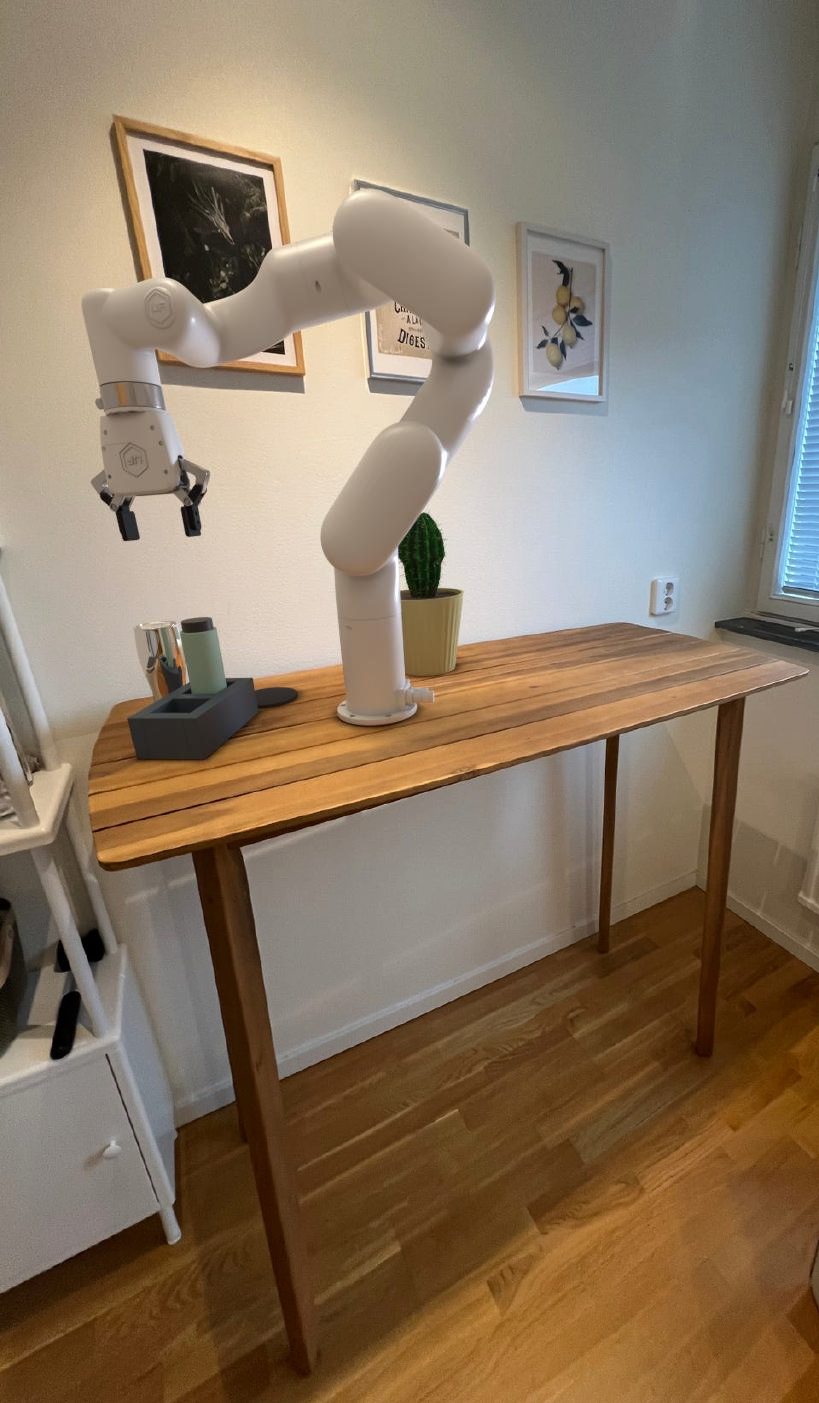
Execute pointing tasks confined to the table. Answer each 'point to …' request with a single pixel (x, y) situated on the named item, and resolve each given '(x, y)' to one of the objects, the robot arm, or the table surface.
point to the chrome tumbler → (161, 656)
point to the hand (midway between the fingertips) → (162, 538)
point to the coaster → (274, 696)
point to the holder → (192, 721)
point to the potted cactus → (427, 603)
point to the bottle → (203, 656)
